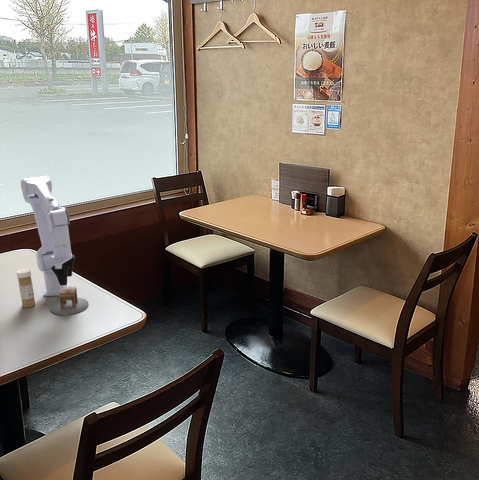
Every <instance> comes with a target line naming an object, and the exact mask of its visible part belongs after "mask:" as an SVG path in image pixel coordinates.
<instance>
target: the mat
mask: <svg viewBox="0 0 479 480" xmlns="http://www.w3.org/2000/svg"><path fill="white" fill-rule="evenodd" d="M77 298H78V303H75V305H76V307H75V308H73V307H72V300H66V302H67V303H66V304H64V309H61V306H60V299H59V300H57V301H55V302H53V303H52V304H51V305H50V307H49V310H50V312H51V314H53V315H57V316H70V315H75V314H78V313H81V312H83V311H85V310H86V309H88V307H89V301H88V299H86V298H82V297H77Z"/></svg>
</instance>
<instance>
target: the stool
mask: <svg viewBox="0 0 479 480" xmlns="http://www.w3.org/2000/svg"><path fill="white" fill-rule="evenodd" d="M77 289H78V288H77V286H69V287H62V288H61V290H60V292H59V295H58V297H59V300H60V306H61V309H64V304H66V303H67V302H66V300H72V307H73V308H75V307H76V305H75V303H78V298H79V297H78V291H77Z"/></svg>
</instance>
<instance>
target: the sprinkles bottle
mask: <svg viewBox="0 0 479 480" xmlns="http://www.w3.org/2000/svg"><path fill="white" fill-rule="evenodd" d="M16 276H17V281H18V286H19V287H18V288H19V293H20V298H21V306H22V307H23V308H32V307H34V306H35V305H36V300H35V293H34V287H33V286H34V285H33V282H32V271H31V269H29V268H21V269H18V270H17V271H16Z"/></svg>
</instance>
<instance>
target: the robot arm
mask: <svg viewBox="0 0 479 480" xmlns="http://www.w3.org/2000/svg"><path fill="white" fill-rule="evenodd" d="M20 187H21V191H22V197H23V199H24V202H25V203H27V204H29V205H30V206H31V208H32V211H33V212H32V213H33V215H34V219H35V223H36V227H37V230H38V231H37V232H38V236H39V239H40V242H41V243H40V244H41V247H40V248H39V249H37V251H36V254H35V257H36V262H37V267H38V269H39V271H40V272H41V273H43V277H44V284H45V285H44V286H45V291H44V293H42V294H43V295H42V296H43V297H51V296H52V297H53V296H59V292H60V290H61V288H62V287H71V284H70V283H68V277H72V276H73V267H74V263H75V259H76V255H75V254H73V253H72V249H71V247H72V246H71V239H70V232H69V231H70V230H69V225H70V222H71V219H70V214H69V211H68V209H67V208H66V207H65V206H64V207H62V205H61V204H60V202H59V200H58V199H57V198H56V197H55V196H52V191H53V184H52V180H51V177H49V176H48V175H44V176H36V177H28V178H22V179H21V180H20Z"/></svg>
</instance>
